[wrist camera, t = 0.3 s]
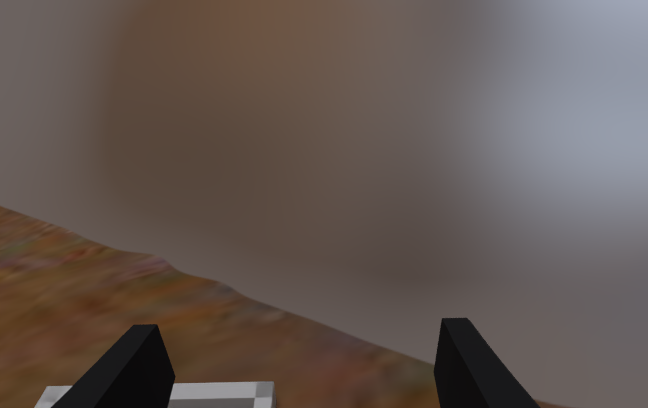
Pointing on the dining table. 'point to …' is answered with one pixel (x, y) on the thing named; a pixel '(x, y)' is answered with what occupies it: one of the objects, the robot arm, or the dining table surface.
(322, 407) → the dining table surface
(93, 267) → the dining table surface
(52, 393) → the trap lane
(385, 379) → the dining table surface
